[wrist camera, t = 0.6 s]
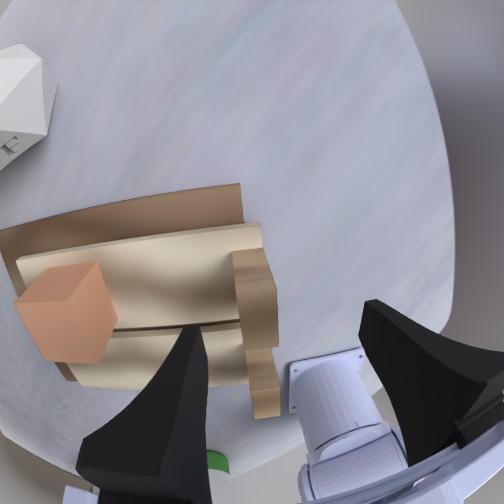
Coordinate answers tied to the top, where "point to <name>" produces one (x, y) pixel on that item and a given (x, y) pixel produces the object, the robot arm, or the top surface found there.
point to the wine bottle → (219, 478)
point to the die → (23, 101)
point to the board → (122, 230)
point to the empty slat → (158, 347)
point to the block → (69, 313)
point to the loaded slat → (182, 279)
